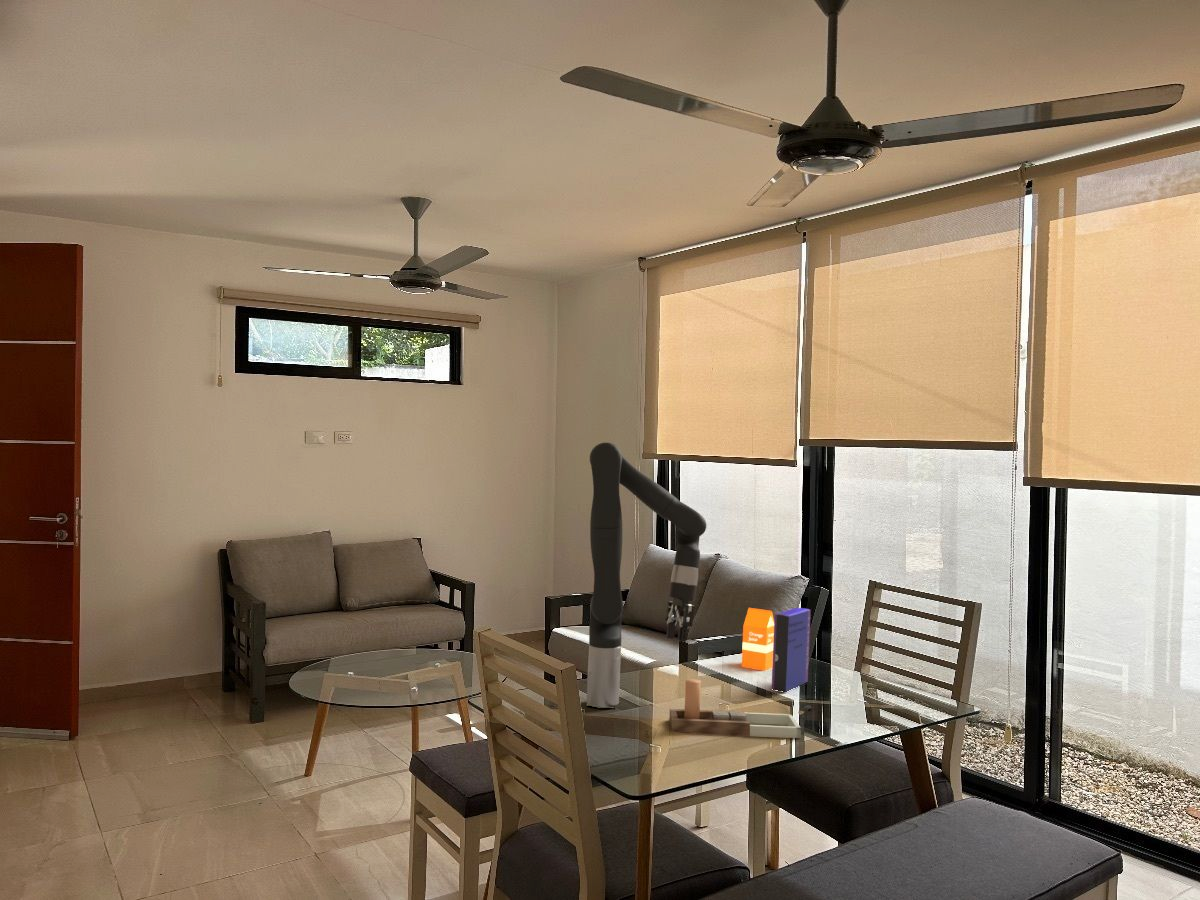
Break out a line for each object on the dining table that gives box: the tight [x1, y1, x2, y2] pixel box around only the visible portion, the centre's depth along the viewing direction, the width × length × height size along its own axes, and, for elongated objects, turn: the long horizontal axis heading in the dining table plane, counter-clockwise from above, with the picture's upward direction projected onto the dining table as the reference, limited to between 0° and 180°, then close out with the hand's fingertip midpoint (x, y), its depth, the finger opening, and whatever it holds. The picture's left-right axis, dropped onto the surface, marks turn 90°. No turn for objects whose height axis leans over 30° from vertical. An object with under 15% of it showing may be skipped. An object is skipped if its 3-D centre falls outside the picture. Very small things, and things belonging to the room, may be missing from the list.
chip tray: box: [744, 711, 802, 739], centre depth 238 cm, size 13×12×4 cm
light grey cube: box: [711, 709, 729, 721], centre depth 238 cm, size 4×4×4 cm
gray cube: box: [728, 710, 746, 721], centre depth 238 cm, size 4×4×4 cm
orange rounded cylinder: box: [684, 678, 702, 719], centre depth 238 cm, size 4×4×12 cm
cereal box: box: [771, 607, 811, 693], centre depth 288 cm, size 17×5×24 cm, turn 145°
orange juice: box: [741, 607, 774, 672], centre depth 313 cm, size 8×9×20 cm
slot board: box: [668, 708, 751, 737], centre depth 238 cm, size 20×12×4 cm, turn 90°
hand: (675, 639), depth 254 cm, fingers open, 8 cm apart
